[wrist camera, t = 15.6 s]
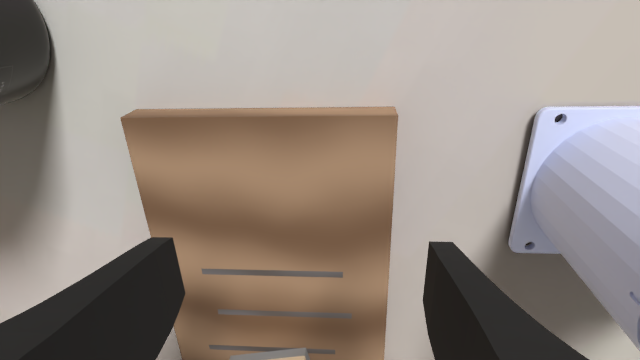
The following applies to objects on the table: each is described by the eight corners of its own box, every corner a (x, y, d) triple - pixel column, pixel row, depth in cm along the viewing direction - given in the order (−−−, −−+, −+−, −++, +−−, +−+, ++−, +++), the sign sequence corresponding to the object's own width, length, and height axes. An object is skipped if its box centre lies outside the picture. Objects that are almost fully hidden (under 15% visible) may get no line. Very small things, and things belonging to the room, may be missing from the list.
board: (136, 109, 20) (120, 117, 18) (394, 107, 19) (397, 115, 17) (208, 413, 30) (201, 433, 29) (377, 423, 29) (378, 443, 28)
